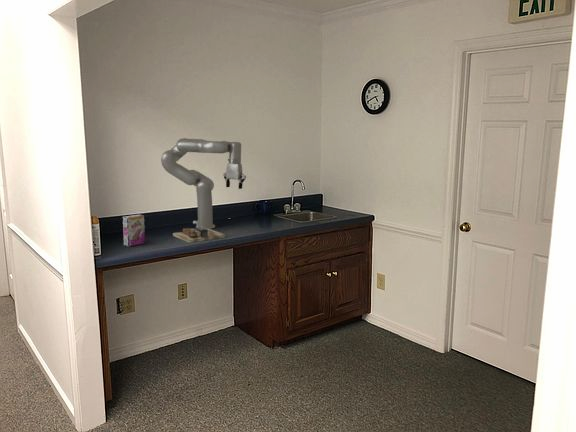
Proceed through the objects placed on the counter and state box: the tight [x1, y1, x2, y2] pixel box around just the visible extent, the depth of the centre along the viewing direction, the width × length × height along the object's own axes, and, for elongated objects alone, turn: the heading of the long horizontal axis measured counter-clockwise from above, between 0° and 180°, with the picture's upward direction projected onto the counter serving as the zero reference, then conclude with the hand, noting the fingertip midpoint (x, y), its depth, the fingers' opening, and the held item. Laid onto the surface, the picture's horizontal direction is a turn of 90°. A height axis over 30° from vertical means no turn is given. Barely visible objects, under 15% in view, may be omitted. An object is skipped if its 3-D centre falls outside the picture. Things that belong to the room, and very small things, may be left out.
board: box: [172, 229, 227, 243], centre depth 298 cm, size 24×22×2 cm
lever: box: [182, 227, 197, 238], centre depth 294 cm, size 18×4×5 cm, turn 27°
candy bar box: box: [122, 214, 146, 247], centre depth 276 cm, size 11×5×16 cm, turn 141°
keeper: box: [195, 227, 208, 238], centre depth 291 cm, size 4×9×5 cm, turn 37°
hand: (234, 187), depth 319 cm, fingers open, 9 cm apart
